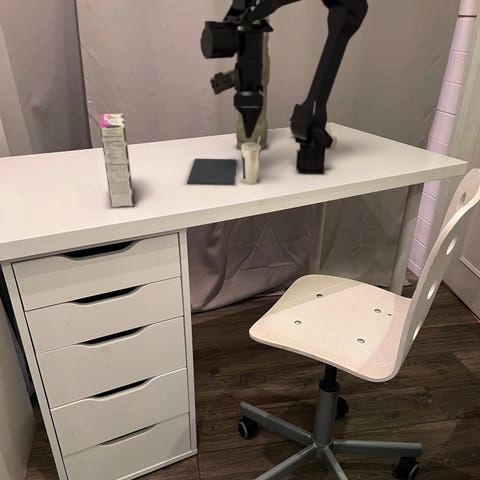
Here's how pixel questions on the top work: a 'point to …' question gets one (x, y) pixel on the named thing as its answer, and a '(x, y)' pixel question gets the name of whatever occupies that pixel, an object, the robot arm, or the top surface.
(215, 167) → the mat
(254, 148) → the milkshake
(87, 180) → the top surface
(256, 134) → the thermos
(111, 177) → the candy bar box
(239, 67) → the robot arm
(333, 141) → the superhero figure
